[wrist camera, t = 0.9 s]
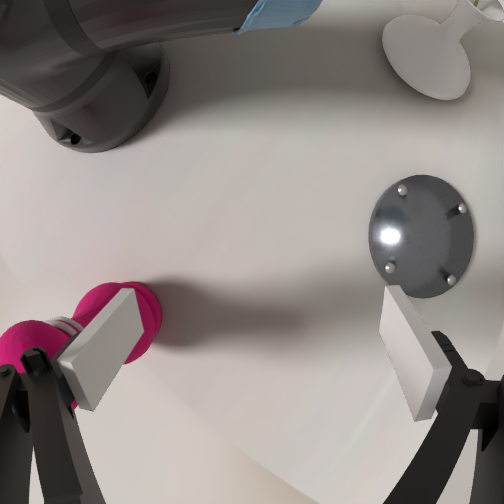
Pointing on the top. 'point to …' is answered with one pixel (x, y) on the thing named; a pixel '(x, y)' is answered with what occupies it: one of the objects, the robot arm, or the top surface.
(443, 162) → the top surface
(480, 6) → the flower in vase
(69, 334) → the pepper mill
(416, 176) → the flange plate
